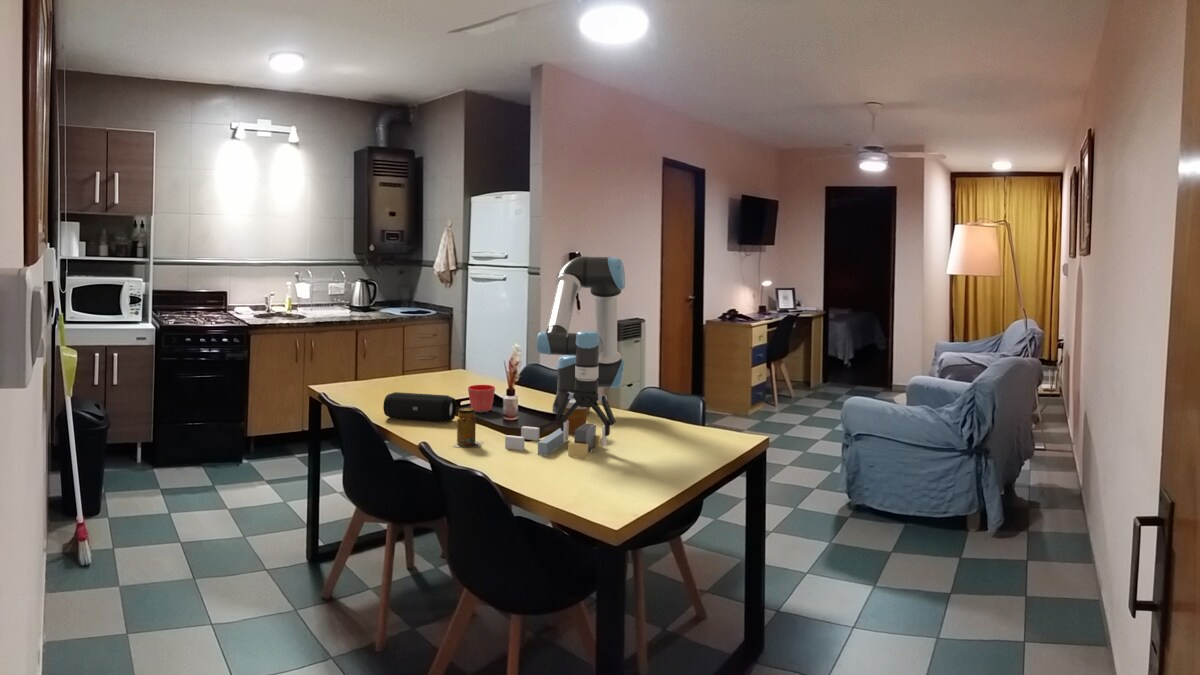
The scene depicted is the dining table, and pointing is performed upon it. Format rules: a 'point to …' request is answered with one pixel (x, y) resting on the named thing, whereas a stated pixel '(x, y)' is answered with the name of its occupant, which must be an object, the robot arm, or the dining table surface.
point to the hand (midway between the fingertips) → (584, 443)
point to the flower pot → (481, 397)
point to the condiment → (466, 429)
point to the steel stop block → (586, 435)
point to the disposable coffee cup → (576, 417)
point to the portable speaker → (420, 407)
